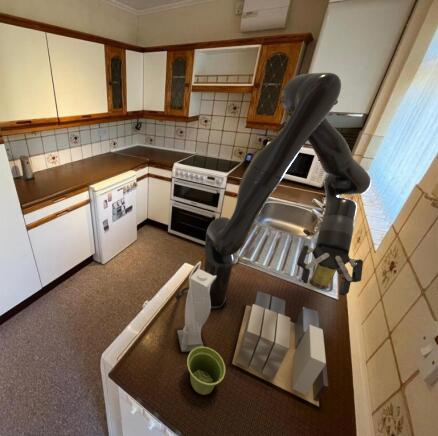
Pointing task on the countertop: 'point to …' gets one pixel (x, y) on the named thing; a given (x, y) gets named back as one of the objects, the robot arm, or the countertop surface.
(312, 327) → the white book
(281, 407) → the countertop surface
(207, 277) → the skyscraper
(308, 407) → the countertop surface
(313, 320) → the book board
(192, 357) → the plant pot
